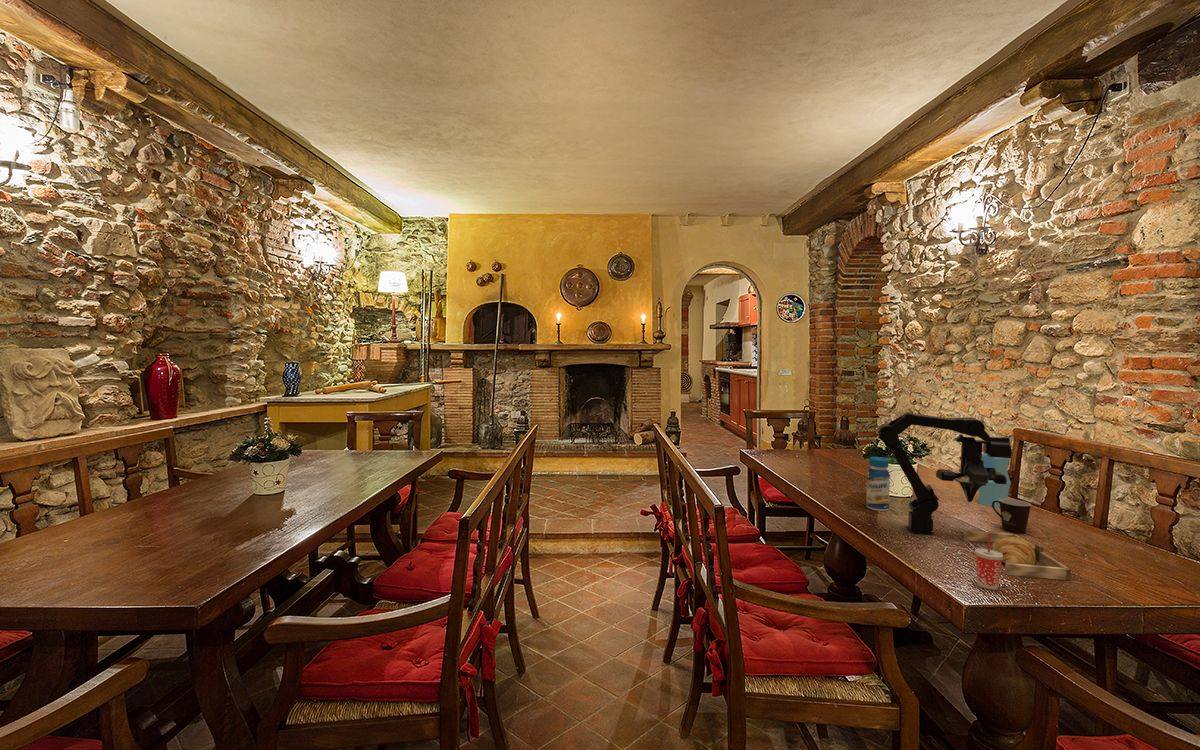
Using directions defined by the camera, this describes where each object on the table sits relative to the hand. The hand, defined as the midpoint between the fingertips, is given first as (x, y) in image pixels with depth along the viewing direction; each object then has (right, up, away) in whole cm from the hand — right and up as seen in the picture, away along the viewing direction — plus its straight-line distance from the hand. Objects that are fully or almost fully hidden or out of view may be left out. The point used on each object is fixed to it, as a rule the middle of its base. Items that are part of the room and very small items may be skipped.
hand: (969, 501), depth 175 cm
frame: (+1, -13, -17) cm, 21 cm away
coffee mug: (+21, -12, +8) cm, 25 cm away
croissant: (0, -13, -18) cm, 22 cm away
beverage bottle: (-14, -11, +32) cm, 36 cm away
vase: (+36, -10, +37) cm, 53 cm away
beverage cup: (-20, -14, -35) cm, 43 cm away
